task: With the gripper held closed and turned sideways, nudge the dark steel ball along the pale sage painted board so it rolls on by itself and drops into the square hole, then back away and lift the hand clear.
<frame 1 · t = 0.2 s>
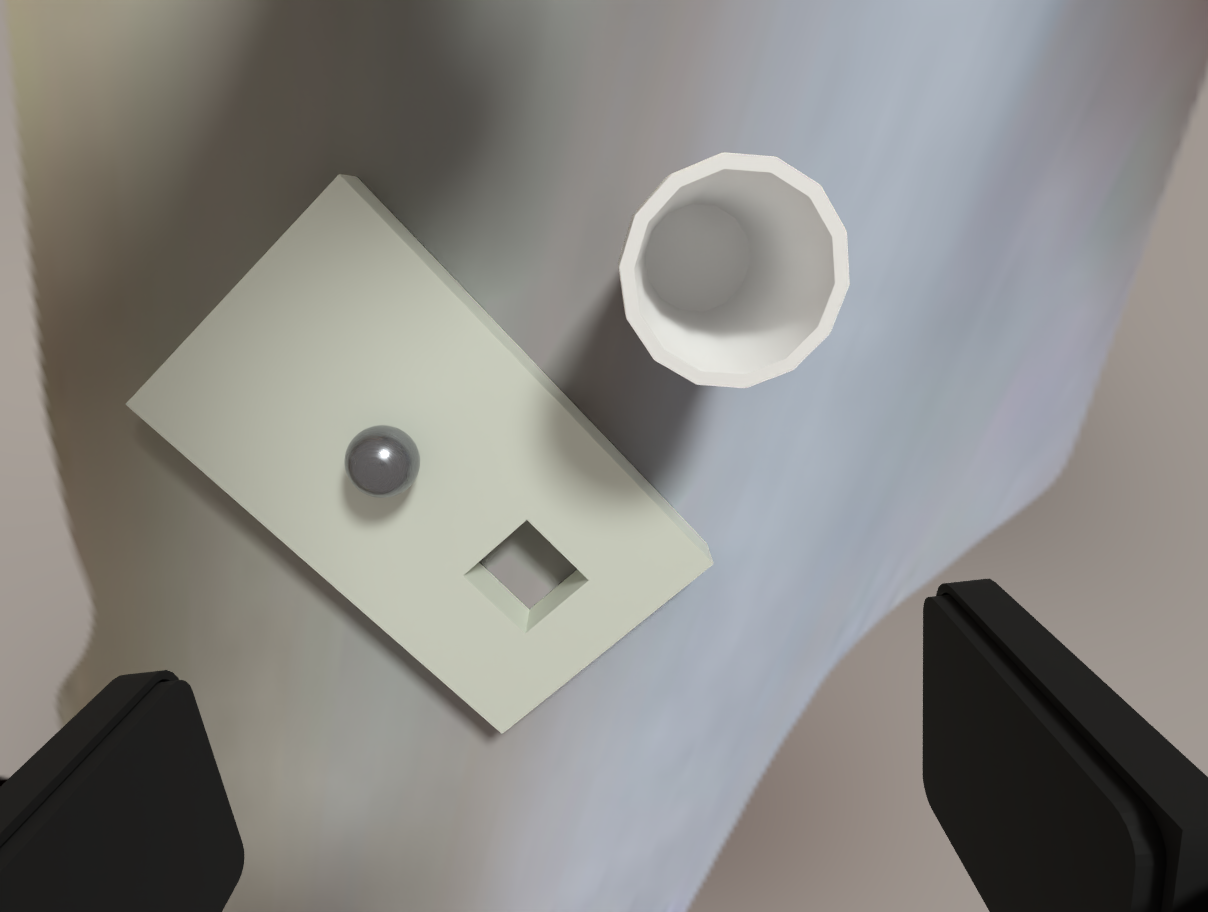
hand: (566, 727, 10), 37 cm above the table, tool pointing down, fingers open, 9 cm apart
hole board: (440, 470, 47), on the table
steel ball: (382, 461, 42), point 5 cm above the table, touching hole board
foam cup: (695, 257, 44), on the table
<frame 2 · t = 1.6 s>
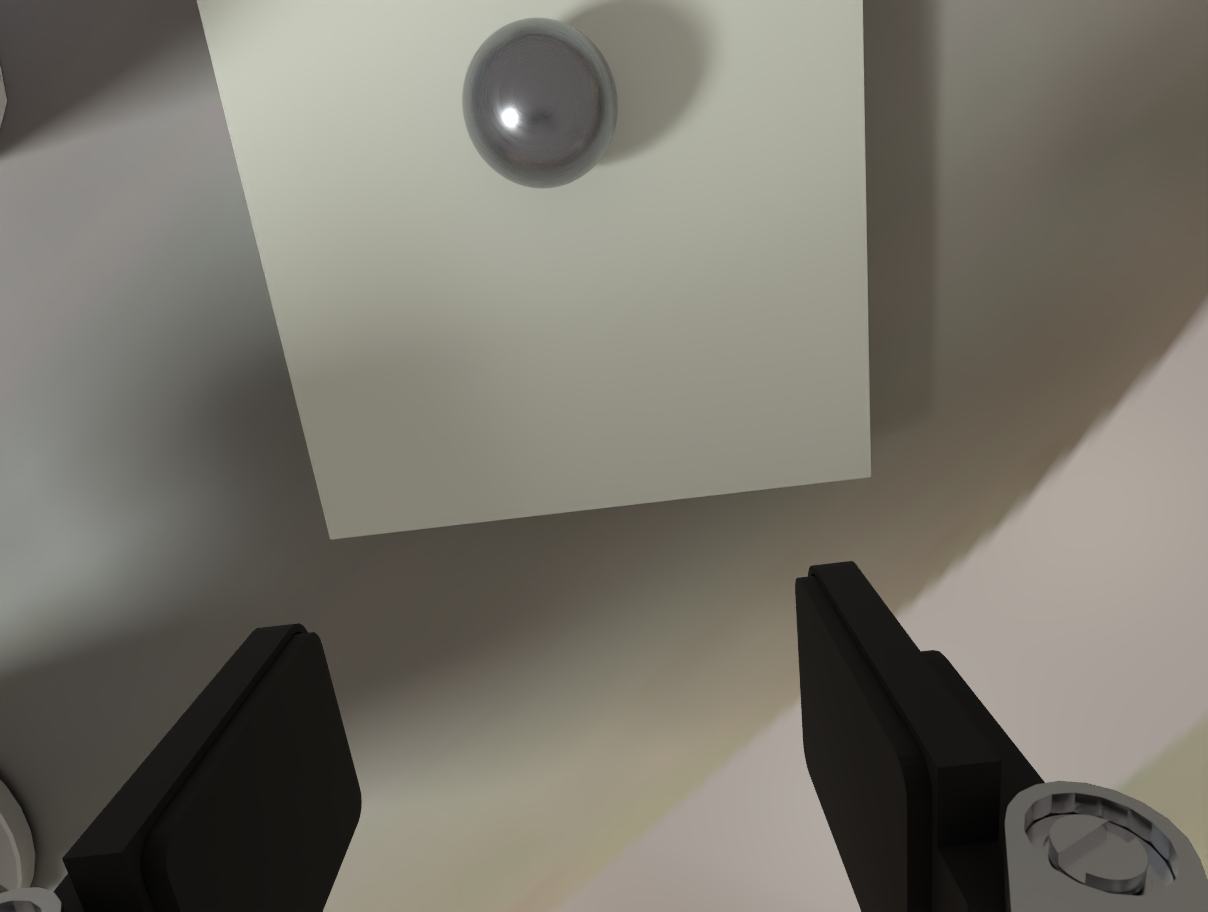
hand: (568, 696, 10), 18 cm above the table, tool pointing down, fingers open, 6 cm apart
hole board: (538, 24, 24), on the table
steel ball: (540, 106, 20), point 5 cm above the table, touching hole board
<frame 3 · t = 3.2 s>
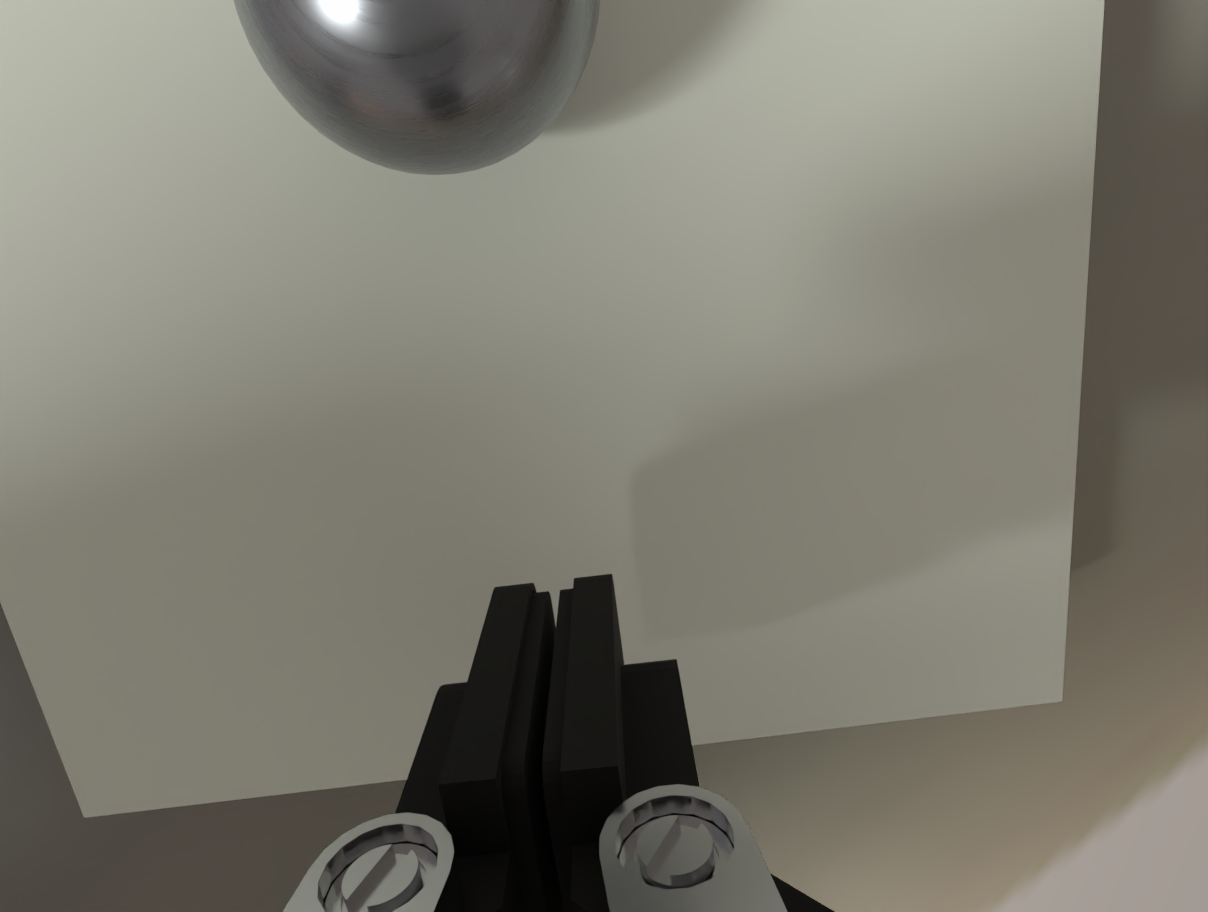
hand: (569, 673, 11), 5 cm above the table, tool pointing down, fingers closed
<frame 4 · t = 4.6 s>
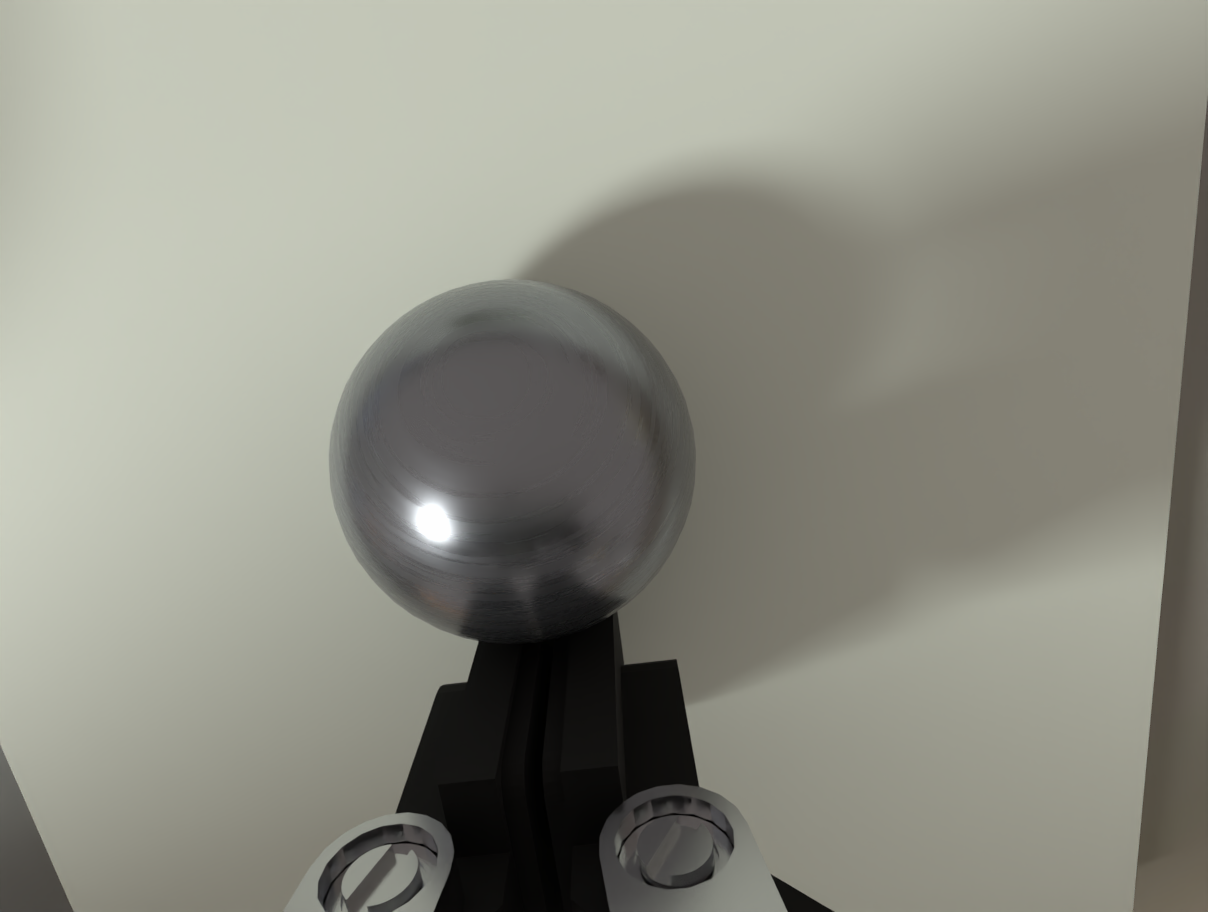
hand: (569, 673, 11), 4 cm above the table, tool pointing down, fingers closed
hole board: (525, 295, 13), on the table
steel ball: (517, 461, 9), point 5 cm above the table, tilted 41°, touching hole board
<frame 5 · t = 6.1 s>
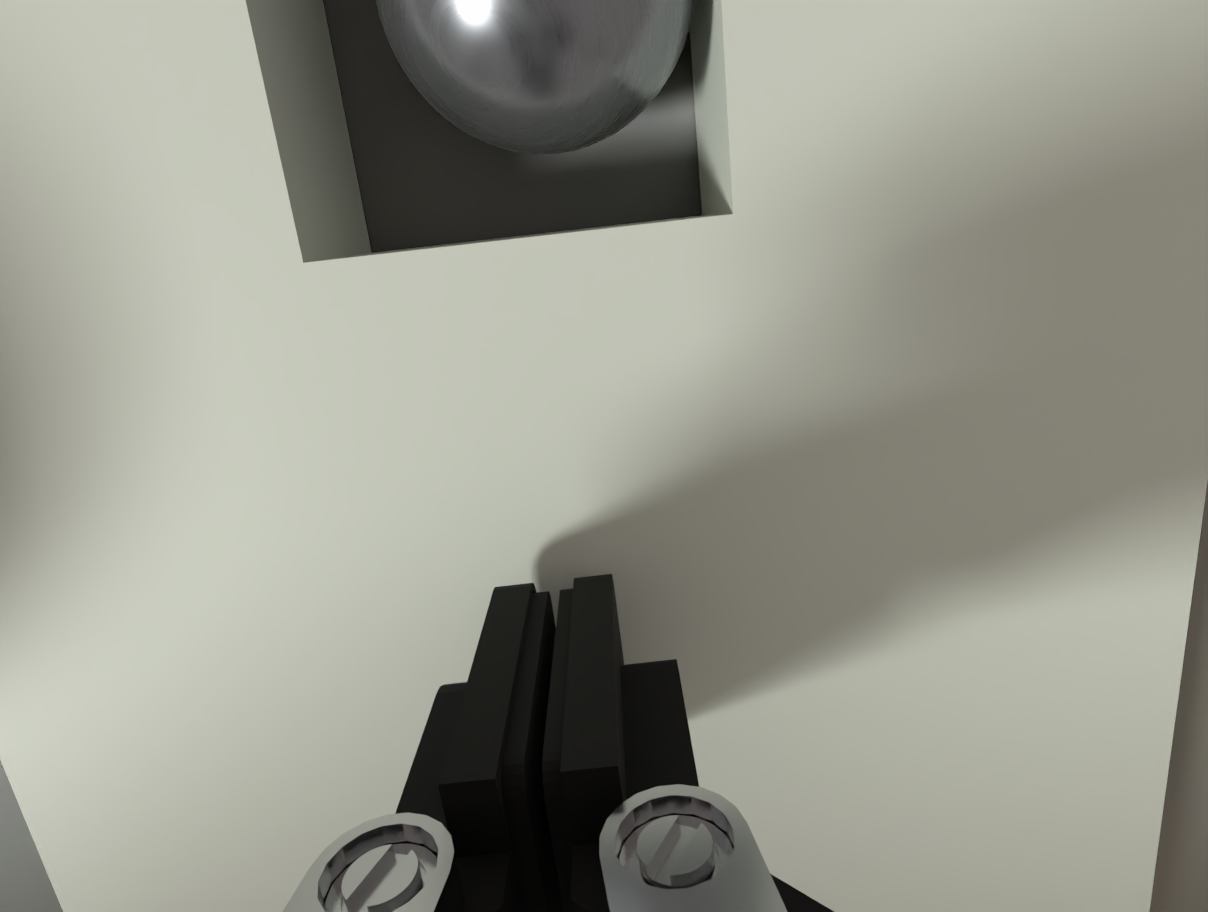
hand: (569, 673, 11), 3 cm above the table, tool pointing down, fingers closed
hole board: (574, 534, 14), on the table
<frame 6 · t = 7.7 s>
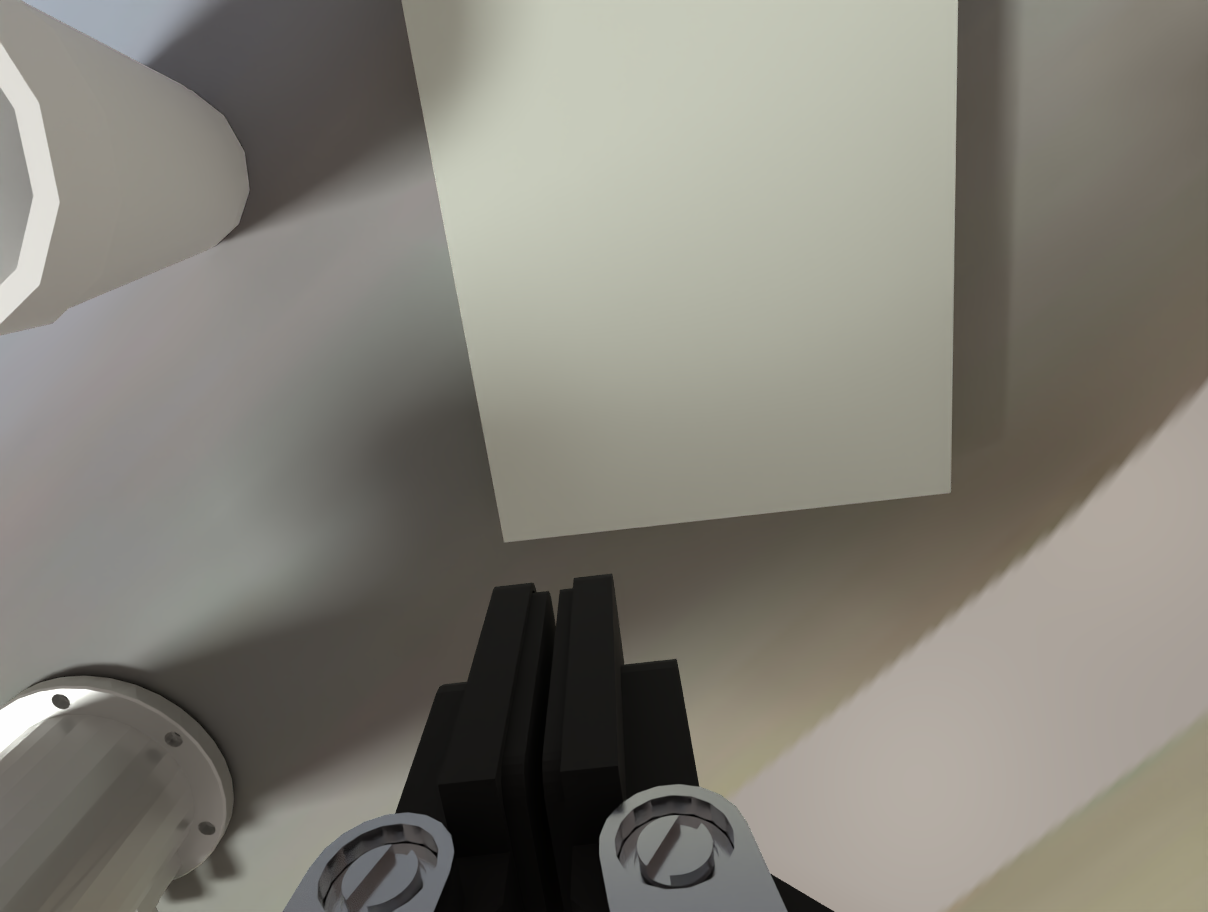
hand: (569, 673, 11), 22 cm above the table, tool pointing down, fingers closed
hole board: (681, 124, 29), on the table
foam cup: (171, 170, 30), on the table
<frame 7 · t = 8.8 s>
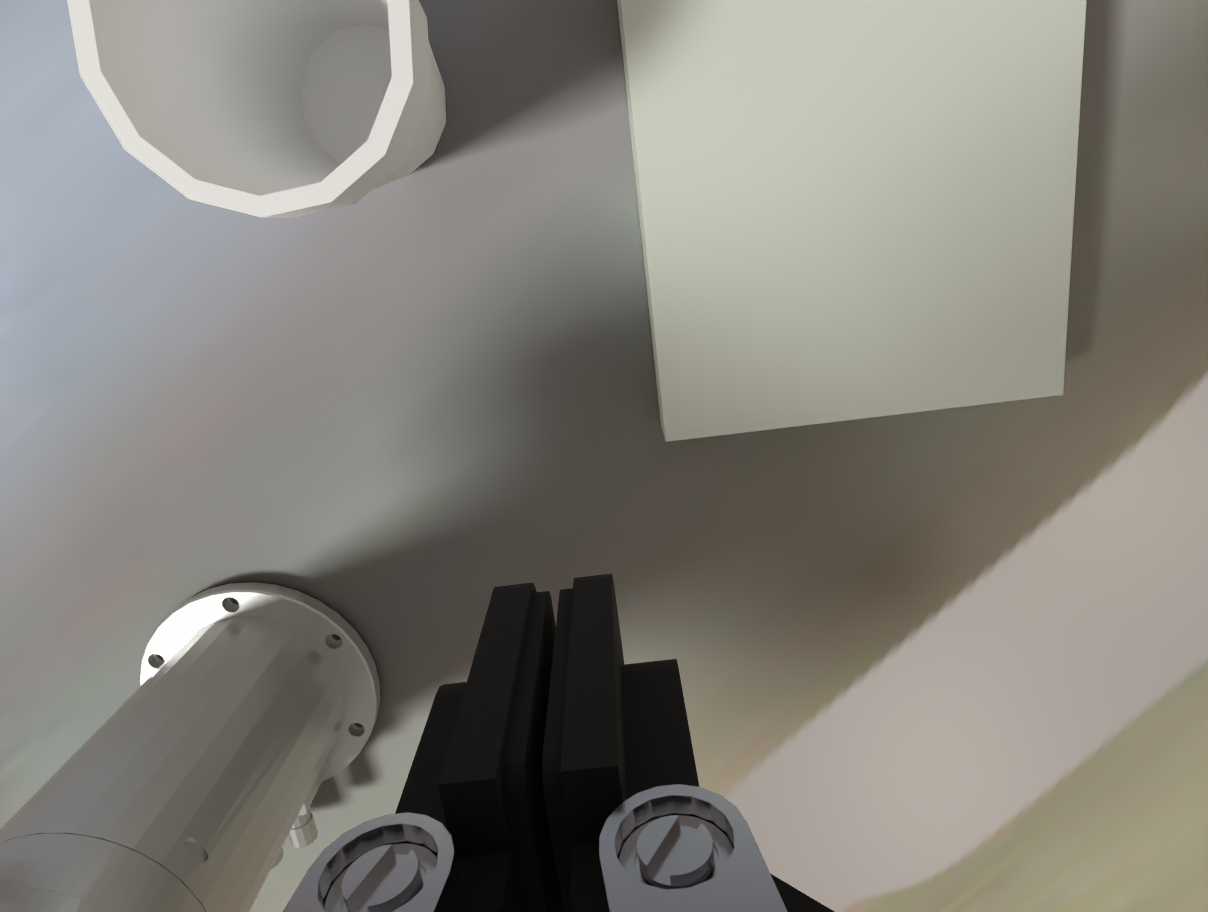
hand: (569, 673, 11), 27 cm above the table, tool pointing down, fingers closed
hole board: (832, 68, 33), on the table
foam cup: (376, 104, 34), on the table
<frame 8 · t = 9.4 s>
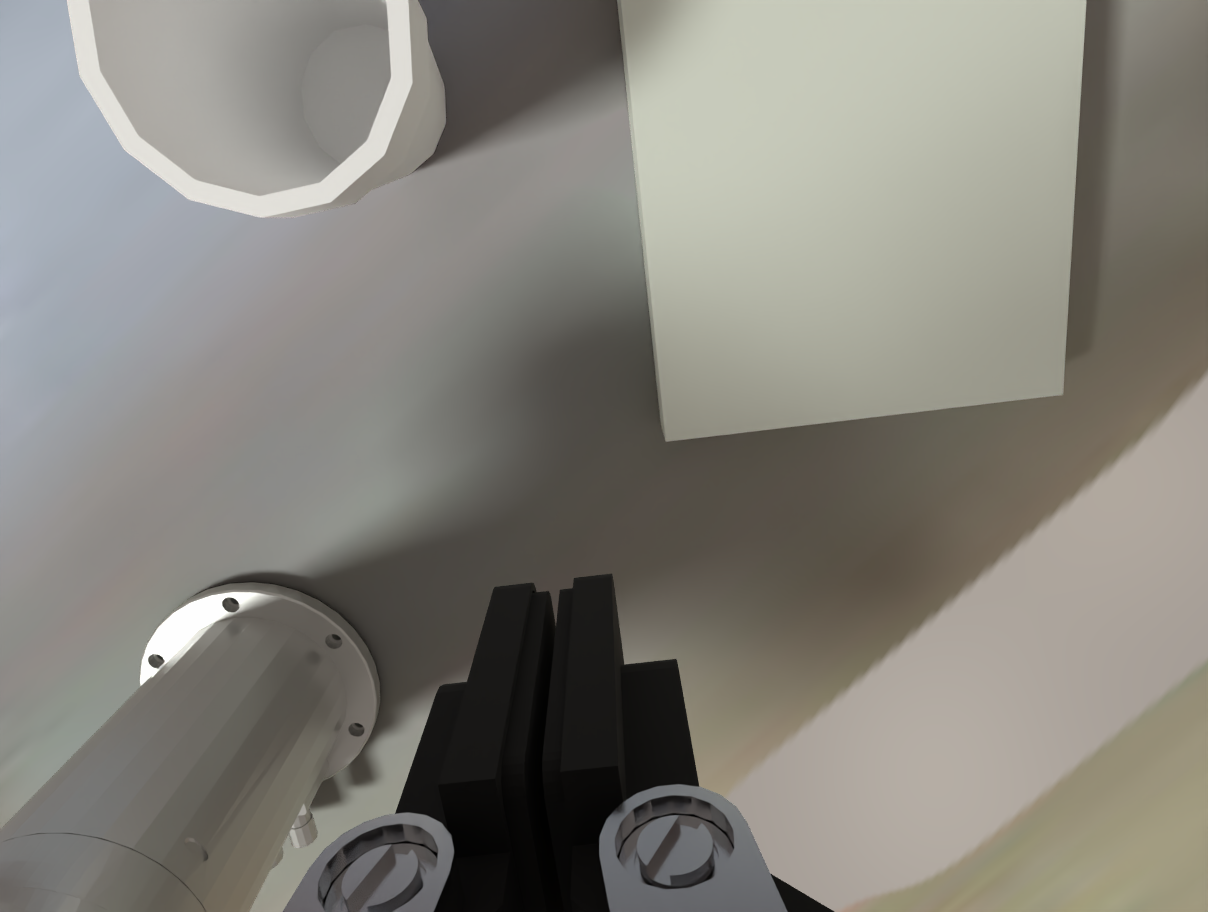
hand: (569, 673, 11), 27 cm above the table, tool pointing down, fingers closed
hole board: (832, 68, 33), on the table
foam cup: (376, 104, 34), on the table
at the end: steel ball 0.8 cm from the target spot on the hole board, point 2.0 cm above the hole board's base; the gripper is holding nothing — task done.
